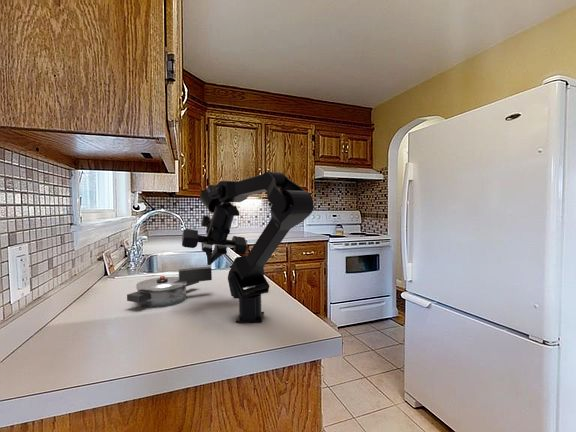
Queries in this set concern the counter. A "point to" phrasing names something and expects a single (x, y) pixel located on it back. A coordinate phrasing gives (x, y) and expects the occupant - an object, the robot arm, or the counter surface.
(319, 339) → the counter surface
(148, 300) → the grey round flat pan
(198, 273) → the lid
